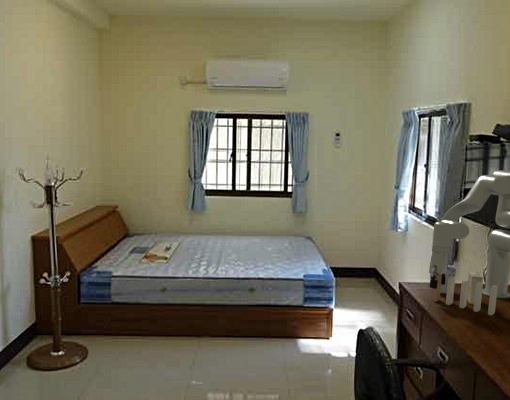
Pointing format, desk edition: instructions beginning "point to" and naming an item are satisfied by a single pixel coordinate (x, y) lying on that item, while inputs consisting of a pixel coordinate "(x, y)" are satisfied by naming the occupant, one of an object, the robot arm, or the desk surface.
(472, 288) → the supplement box
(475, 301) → the domino
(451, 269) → the ink cartridge box
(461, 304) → the domino
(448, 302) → the domino
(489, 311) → the domino
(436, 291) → the domino
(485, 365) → the desk surface
